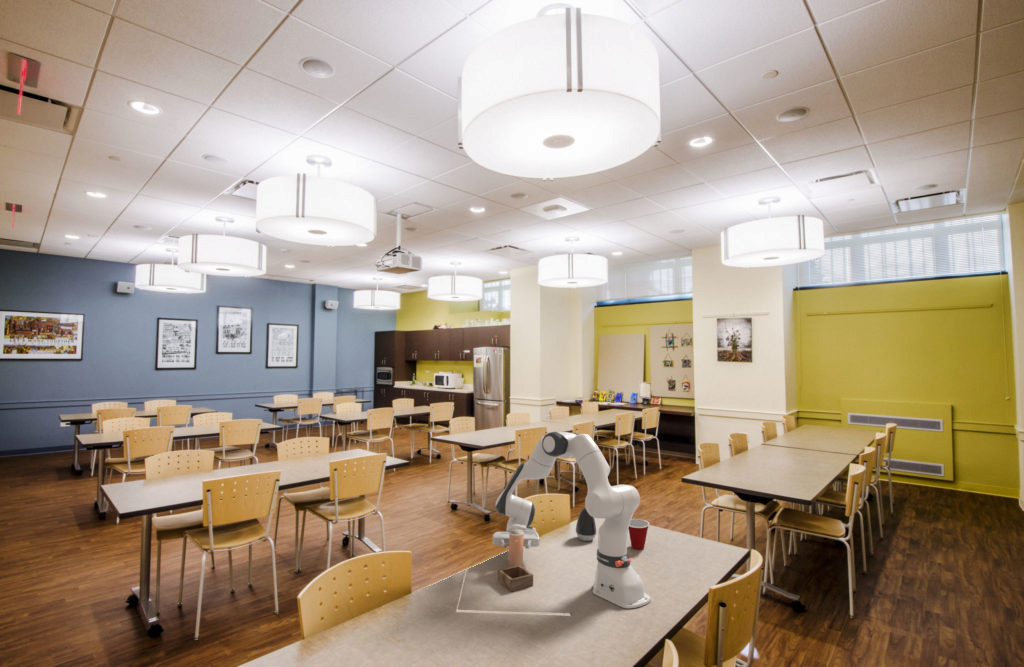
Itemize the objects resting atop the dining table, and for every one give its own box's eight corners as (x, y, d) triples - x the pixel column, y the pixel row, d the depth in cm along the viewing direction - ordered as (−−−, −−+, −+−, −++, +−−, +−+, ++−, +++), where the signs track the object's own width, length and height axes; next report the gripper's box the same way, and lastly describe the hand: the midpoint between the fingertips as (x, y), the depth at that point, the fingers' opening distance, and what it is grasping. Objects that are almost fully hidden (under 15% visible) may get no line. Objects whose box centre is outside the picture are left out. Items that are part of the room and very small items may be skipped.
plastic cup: (621, 545, 229) (621, 519, 230) (638, 542, 234) (639, 517, 234) (635, 553, 219) (636, 527, 220) (654, 550, 224) (654, 524, 224)
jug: (508, 567, 201) (509, 528, 202) (522, 567, 201) (523, 529, 202) (507, 576, 192) (508, 536, 193) (522, 577, 192) (523, 536, 193)
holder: (533, 587, 183) (533, 574, 183) (510, 593, 178) (511, 580, 178) (519, 577, 192) (519, 564, 192) (497, 583, 186) (498, 569, 187)
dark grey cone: (595, 536, 240) (595, 505, 241) (597, 543, 230) (597, 511, 231) (575, 534, 241) (575, 504, 242) (575, 542, 231) (576, 510, 232)
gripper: (493, 526, 212) (491, 537, 198) (538, 527, 211) (540, 539, 198) (492, 540, 211) (490, 553, 197) (538, 542, 211) (539, 554, 197)
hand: (516, 546), depth 198 cm, fingers open, 8 cm apart
